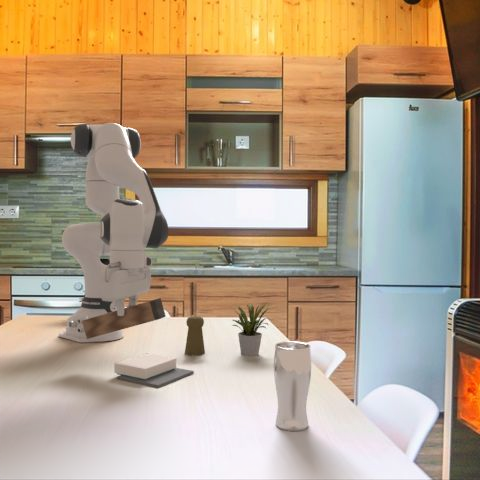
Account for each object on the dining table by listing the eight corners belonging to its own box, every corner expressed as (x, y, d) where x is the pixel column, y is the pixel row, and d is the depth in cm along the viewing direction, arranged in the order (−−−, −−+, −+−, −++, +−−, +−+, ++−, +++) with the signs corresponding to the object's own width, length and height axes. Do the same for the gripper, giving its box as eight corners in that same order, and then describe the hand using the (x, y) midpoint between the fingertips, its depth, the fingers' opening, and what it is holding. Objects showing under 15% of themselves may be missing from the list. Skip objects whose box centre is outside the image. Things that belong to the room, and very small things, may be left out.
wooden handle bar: (86, 339, 129) (81, 320, 129) (94, 336, 132) (89, 318, 133) (159, 318, 123) (154, 299, 123) (165, 316, 126) (160, 297, 127)
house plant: (283, 351, 150) (283, 298, 150) (271, 362, 137) (271, 304, 137) (239, 347, 155) (239, 295, 154) (223, 357, 142) (224, 301, 141)
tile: (114, 363, 121) (145, 369, 116) (146, 353, 132) (176, 358, 127) (114, 374, 121) (145, 380, 116) (146, 363, 132) (176, 369, 127)
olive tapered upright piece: (201, 355, 143) (202, 318, 143) (182, 354, 145) (182, 317, 144) (207, 351, 149) (207, 315, 149) (188, 350, 150) (188, 314, 150)
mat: (116, 378, 120) (116, 376, 120) (154, 366, 132) (154, 363, 132) (158, 387, 113) (158, 385, 113) (193, 373, 125) (193, 370, 125)
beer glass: (270, 418, 95) (271, 341, 95) (306, 417, 95) (307, 341, 95) (276, 432, 88) (277, 349, 88) (314, 432, 88) (315, 349, 88)
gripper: (117, 264, 116) (116, 322, 117) (155, 259, 136) (154, 308, 136) (94, 263, 118) (93, 320, 118) (134, 258, 138) (134, 307, 138)
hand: (126, 313), depth 128 cm, fingers closed on wooden handle bar, 3 cm apart
